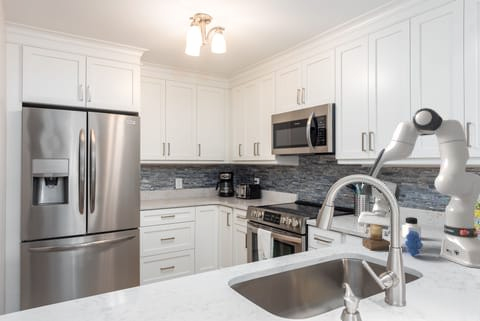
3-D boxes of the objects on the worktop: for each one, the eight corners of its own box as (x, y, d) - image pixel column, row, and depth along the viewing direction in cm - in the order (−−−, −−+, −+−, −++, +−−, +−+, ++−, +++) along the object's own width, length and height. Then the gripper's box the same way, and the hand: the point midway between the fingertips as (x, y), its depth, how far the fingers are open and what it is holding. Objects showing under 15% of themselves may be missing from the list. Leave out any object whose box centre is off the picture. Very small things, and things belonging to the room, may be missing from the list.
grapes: (416, 260, 138) (416, 233, 138) (401, 256, 143) (401, 230, 144) (429, 256, 144) (429, 230, 145) (414, 253, 150) (414, 227, 150)
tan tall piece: (384, 249, 156) (384, 227, 156) (373, 249, 156) (373, 227, 156) (379, 246, 162) (379, 224, 162) (368, 246, 161) (368, 224, 162)
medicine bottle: (421, 239, 178) (421, 218, 178) (408, 239, 178) (408, 218, 178) (414, 237, 185) (414, 216, 185) (402, 236, 185) (402, 216, 185)
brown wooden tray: (391, 250, 154) (391, 242, 154) (371, 250, 153) (371, 242, 153) (381, 245, 164) (381, 237, 164) (362, 245, 163) (362, 237, 163)
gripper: (359, 206, 171) (353, 227, 163) (401, 210, 158) (397, 233, 150) (362, 214, 174) (356, 234, 166) (403, 218, 162) (399, 241, 154)
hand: (376, 234), depth 158 cm, fingers open, 8 cm apart
